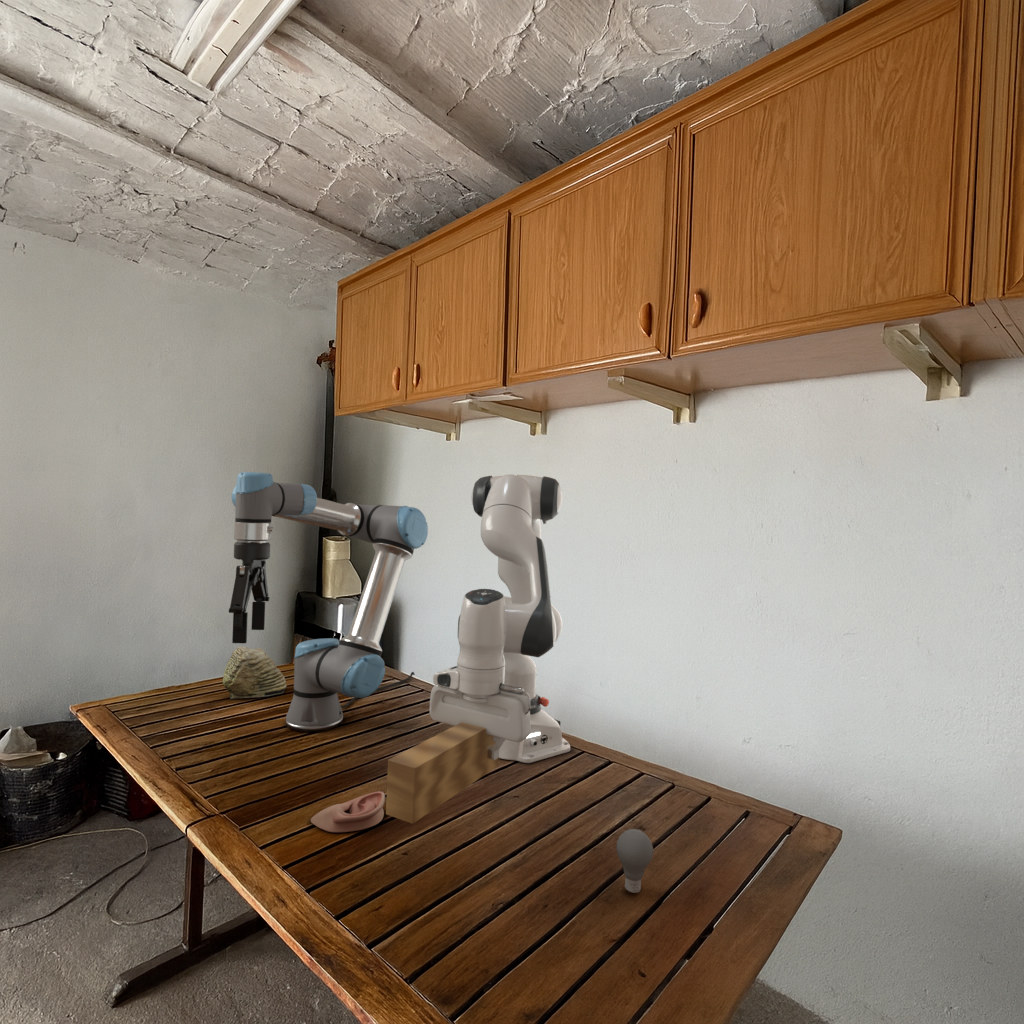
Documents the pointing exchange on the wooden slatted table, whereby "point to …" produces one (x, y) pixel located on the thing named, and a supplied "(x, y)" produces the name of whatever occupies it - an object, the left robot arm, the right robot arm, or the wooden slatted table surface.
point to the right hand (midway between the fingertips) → (477, 753)
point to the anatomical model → (352, 814)
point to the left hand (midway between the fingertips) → (249, 636)
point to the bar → (437, 770)
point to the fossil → (252, 674)
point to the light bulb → (634, 857)
